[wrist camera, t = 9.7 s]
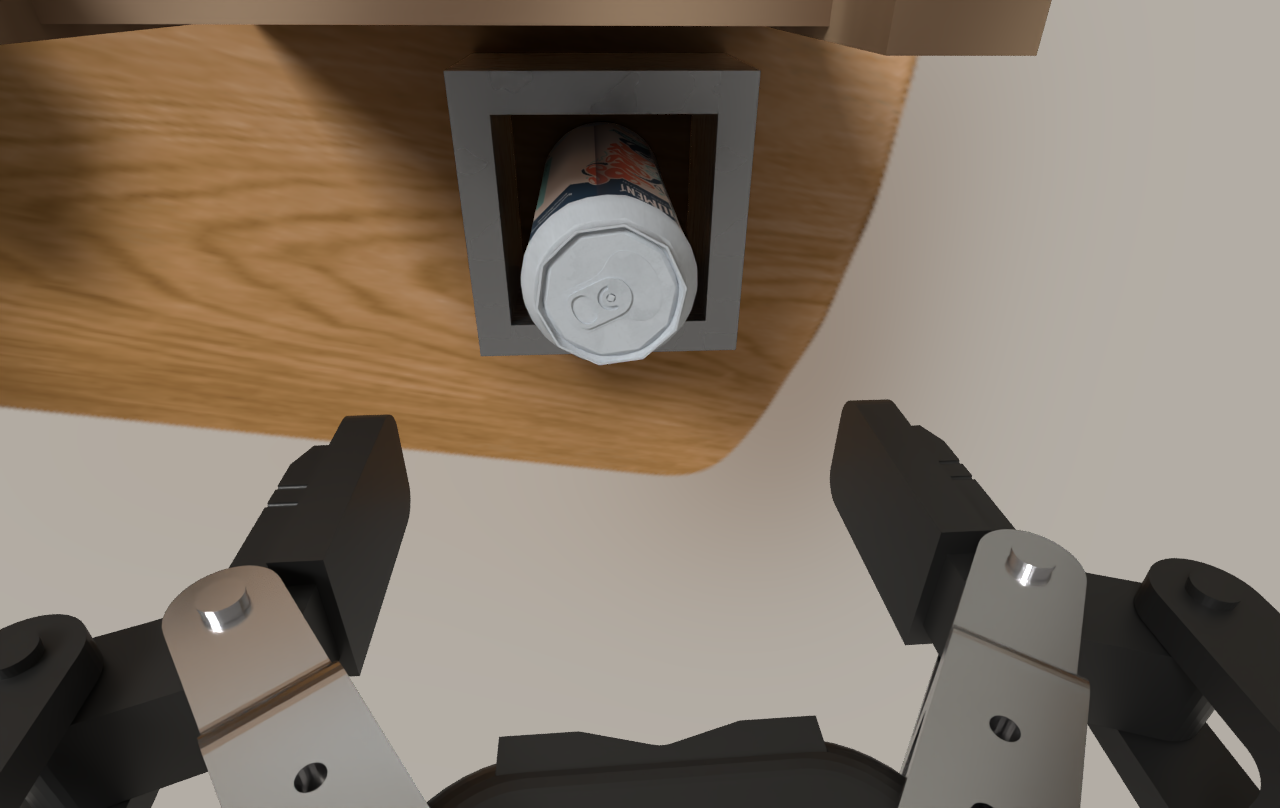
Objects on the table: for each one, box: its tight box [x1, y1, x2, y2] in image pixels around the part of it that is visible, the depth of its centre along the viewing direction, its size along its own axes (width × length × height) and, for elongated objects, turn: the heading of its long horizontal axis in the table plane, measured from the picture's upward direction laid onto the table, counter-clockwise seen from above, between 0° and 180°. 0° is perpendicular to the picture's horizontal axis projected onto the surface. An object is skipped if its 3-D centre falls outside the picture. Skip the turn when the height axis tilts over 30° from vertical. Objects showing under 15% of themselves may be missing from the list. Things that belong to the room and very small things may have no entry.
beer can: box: [521, 122, 697, 365], centre depth 23 cm, size 5×5×12 cm
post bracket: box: [444, 53, 761, 356], centre depth 25 cm, size 9×9×6 cm
